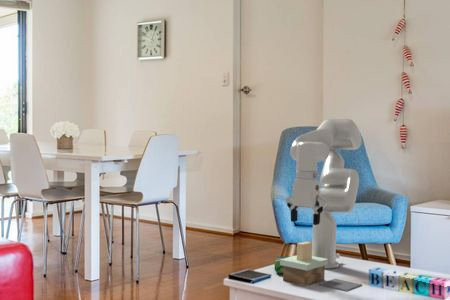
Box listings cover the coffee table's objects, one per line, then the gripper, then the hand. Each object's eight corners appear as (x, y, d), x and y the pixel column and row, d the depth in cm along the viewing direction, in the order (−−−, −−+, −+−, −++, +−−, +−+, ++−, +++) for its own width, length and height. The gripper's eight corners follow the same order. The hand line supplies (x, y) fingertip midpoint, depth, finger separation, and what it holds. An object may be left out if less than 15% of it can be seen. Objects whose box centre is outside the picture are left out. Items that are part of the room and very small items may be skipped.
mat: (335, 279, 212) (335, 278, 212) (362, 285, 205) (362, 284, 205) (318, 285, 204) (318, 284, 204) (346, 291, 196) (346, 290, 196)
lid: (301, 259, 219) (302, 238, 219) (328, 264, 211) (328, 242, 211) (279, 264, 209) (280, 243, 208) (307, 270, 201) (307, 247, 200)
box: (301, 275, 218) (302, 256, 218) (324, 280, 211) (324, 261, 211) (282, 280, 209) (283, 261, 209) (305, 286, 202) (306, 266, 202)
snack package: (273, 276, 216) (273, 262, 216) (276, 266, 231) (277, 253, 231) (291, 277, 215) (292, 263, 215) (294, 267, 230) (294, 254, 230)
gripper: (332, 177, 206) (330, 224, 206) (292, 174, 217) (291, 219, 217) (321, 178, 200) (319, 226, 200) (281, 174, 212) (279, 221, 212)
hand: (304, 222), depth 209 cm, fingers open, 9 cm apart
